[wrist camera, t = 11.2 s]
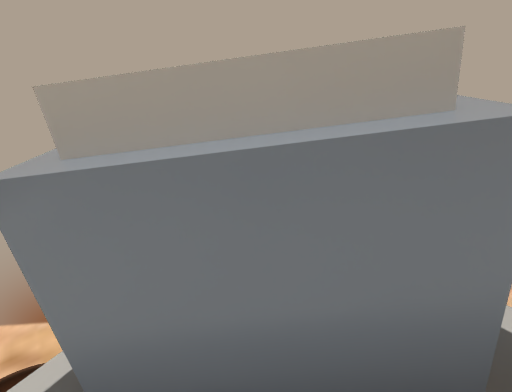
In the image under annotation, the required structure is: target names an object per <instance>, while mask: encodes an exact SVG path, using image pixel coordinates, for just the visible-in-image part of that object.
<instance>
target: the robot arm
mask: <svg viewBox="0 0 512 392" xmlns="http://www.w3.org/2000/svg"><path fill="white" fill-rule="evenodd" d="M7 392H84V390H83V388H82V387H81V385H80V383H79V381H78V379H77V377H76V375H75V373H74V371H73V369H72V367H71V365H70V363H69V361H68V360H67V358H66V356H65V354H64V352H63V351H62V352H61V353H59V354H58V355H56V356H55V357H54V358H52V359H51V360H49V361H48V362H47V363H45V364H44V365H43V366H41V367H40V368H38V369H37V370H36V371H34V372H33V373H32V374H30V375H29V376H27V377H26V378H25V379H23V380H22V381H20V382H19V383H18V384H16V385H15V386H14V387H12V388H11V389H9V390H8V391H7ZM485 392H512V307H509V306H507V305H506V308H505V312H504V317H503V321H502V325H501V329H500V333H499V337H498V341H497V345H496V349H495V353H494V357H493V361H492V365H491V370H490V374H489V378H488V382H487V386H486V390H485Z"/></svg>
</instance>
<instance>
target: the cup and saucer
mask: <svg viewBox="0 0 512 392" xmlns="http://www.w3.org/2000/svg"><path fill="white" fill-rule="evenodd" d="M44 364H45V363H43V364H39V365H35V366H31V367H28V368H25V369H22V370H20V371H17V372H15V373H12V374H10V375H8V376H6V377H3V378H1V379H0V392H7V391H8V390H9V389H11V388H12V387H14V386H15V385H16V384H18V383H19V382H20V381H22V380H23V379H25V378H26V377H27V376H29V375H30V374H32V373H33V372H34V371H36V370H37V369H38V368H40V367H41V366H43V365H44Z"/></svg>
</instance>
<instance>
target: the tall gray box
mask: <svg viewBox="0 0 512 392" xmlns="http://www.w3.org/2000/svg"><path fill="white" fill-rule="evenodd" d="M464 32H465V26H462V27H461V26H460V27H454V28H446V29H439V30H432V31H425V32H418V33H411V34H404V35H396V36H390V37H382V38H375V39H368V40H362V41H354V42H347V43H340V44H333V45H326V46H319V47H312V48H304V49H297V50H290V51H283V52H276V53H269V54H261V55H255V56H247V57H241V58H233V59H226V60H220V61H212V62H205V63H198V64H190V65H184V66H176V67H170V68H162V69H155V70H149V71H141V72H134V73H126V74H120V75H112V76H105V77H98V78H91V79H84V80H77V81H70V82H63V83H55V84H48V85H41V86H34V87H33V90H34V92H35V94H36V97H37V100H38V102H39V105H40V107H41V110H42V112H43V115H44V118H45V120H46V123H47V125H48V128H49V130H50V133H51V136H52V138H53V141H54V143H55V146H56V149H54V150H51V151H49V152H46V153H44V154H42V155H40V156H37V157H35V158H32V159H30V160H28V161H25V162H23V163H21V164H18V165H16V166H14V167H11V168H9V169H7V170H4V171H2V172H0V230H1V232H2V234H3V236H4V238H5V240H6V242H7V244H8V246H9V248H10V250H11V252H12V254H13V255H14V257H15V259H16V261H17V263H18V265H19V267H20V269H21V271H22V273H23V274H24V277H25V279H26V280H27V282H28V284H29V286H30V288H31V290H32V292H33V294H34V296H35V298H36V300H37V301H38V304H39V305H40V307H41V309H42V311H43V313H44V315H45V317H46V319H47V321H48V323H49V325H50V327H51V329H52V331H53V333H54V335H55V336H56V338H57V340H58V342H59V344H60V346H61V348H62V350H63V352H64V354H65V356H66V358H67V360H68V361H69V363H70V365H71V367H72V369H73V371H74V373H75V375H76V377H77V379H78V381H79V383H80V385H81V387H82V388H83V390H84V392H485V390H486V386H487V382H488V378H489V374H490V370H491V365H492V361H493V357H494V353H495V349H496V345H497V341H498V337H499V333H500V329H501V325H502V321H503V317H504V312H505V308H506V304H507V300H508V296H509V292H510V288H511V284H512V104H509V103H503V102H497V101H490V100H484V99H478V98H472V97H466V96H459V95H457V89H458V81H459V73H460V65H461V57H462V49H463V41H464Z"/></svg>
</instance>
